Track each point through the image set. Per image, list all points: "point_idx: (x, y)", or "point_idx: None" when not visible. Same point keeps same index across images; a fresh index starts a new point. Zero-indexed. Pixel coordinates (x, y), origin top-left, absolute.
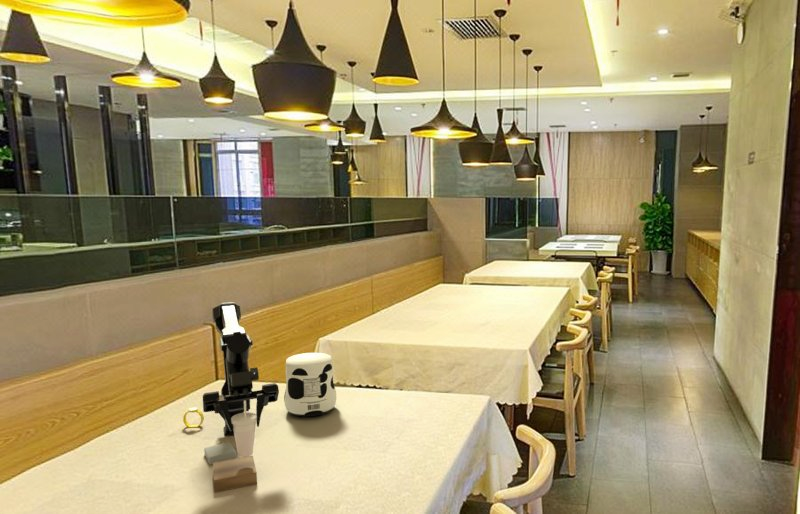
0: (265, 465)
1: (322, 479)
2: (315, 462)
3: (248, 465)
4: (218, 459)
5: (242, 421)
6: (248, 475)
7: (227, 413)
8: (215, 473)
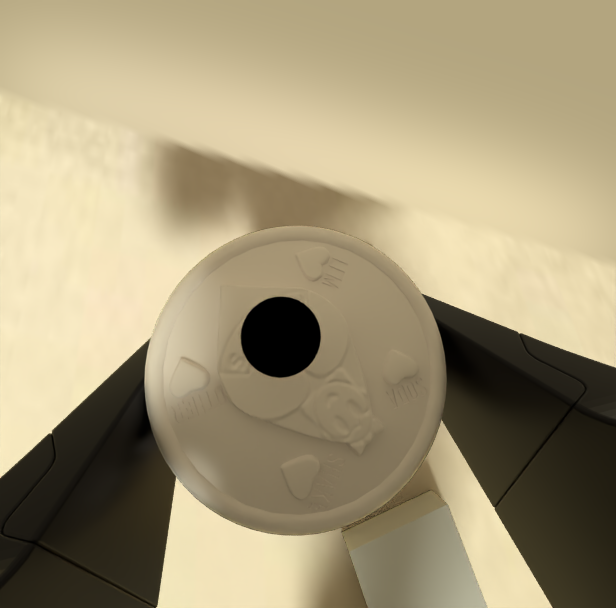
0: None
1: (20, 271)
2: (20, 416)
3: None
4: (407, 509)
5: (305, 230)
6: None
7: (531, 361)
8: None
